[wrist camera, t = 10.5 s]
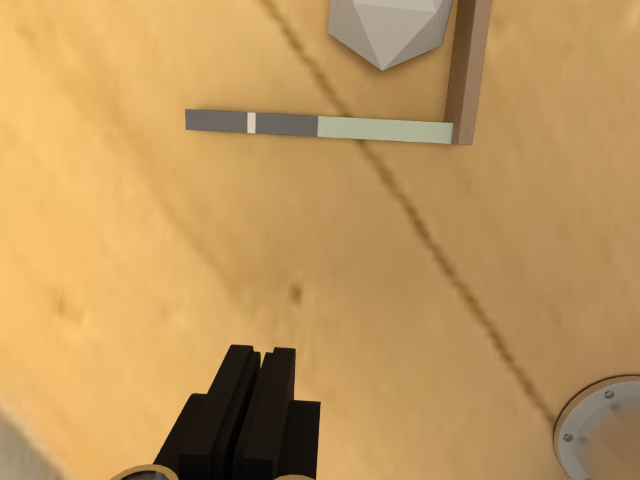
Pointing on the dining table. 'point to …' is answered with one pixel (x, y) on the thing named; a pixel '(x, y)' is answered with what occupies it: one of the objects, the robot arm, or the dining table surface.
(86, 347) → the dining table surface
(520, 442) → the dining table surface
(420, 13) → the die
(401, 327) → the dining table surface
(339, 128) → the trap lane
